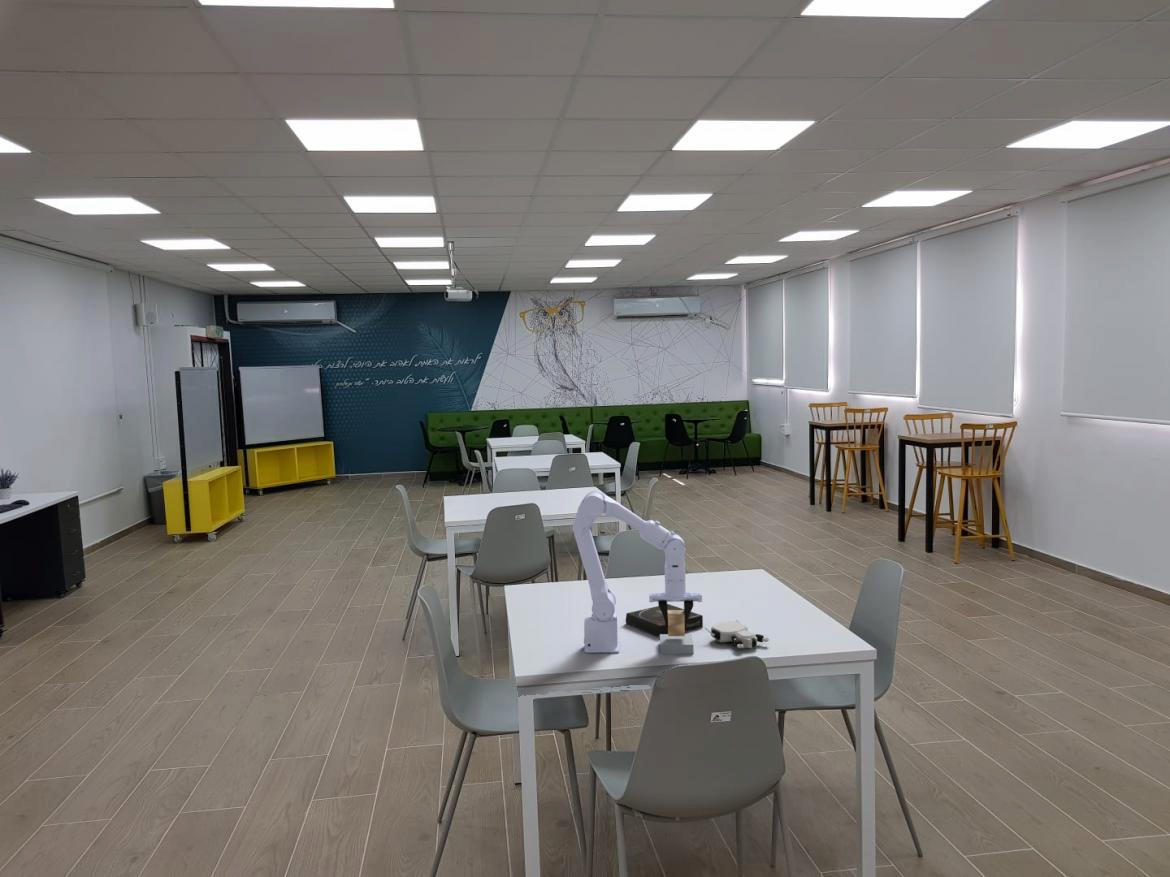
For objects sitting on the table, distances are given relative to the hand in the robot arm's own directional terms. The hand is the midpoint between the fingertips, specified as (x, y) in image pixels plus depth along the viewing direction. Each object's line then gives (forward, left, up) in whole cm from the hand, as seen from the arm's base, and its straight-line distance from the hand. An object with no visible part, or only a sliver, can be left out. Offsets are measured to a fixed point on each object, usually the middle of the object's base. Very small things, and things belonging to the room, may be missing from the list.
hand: (676, 626), depth 225 cm
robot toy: (+17, +4, -6) cm, 19 cm away
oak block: (0, 0, -2) cm, 2 cm away
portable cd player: (-3, +21, -7) cm, 22 cm away
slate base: (0, 0, -7) cm, 7 cm away
